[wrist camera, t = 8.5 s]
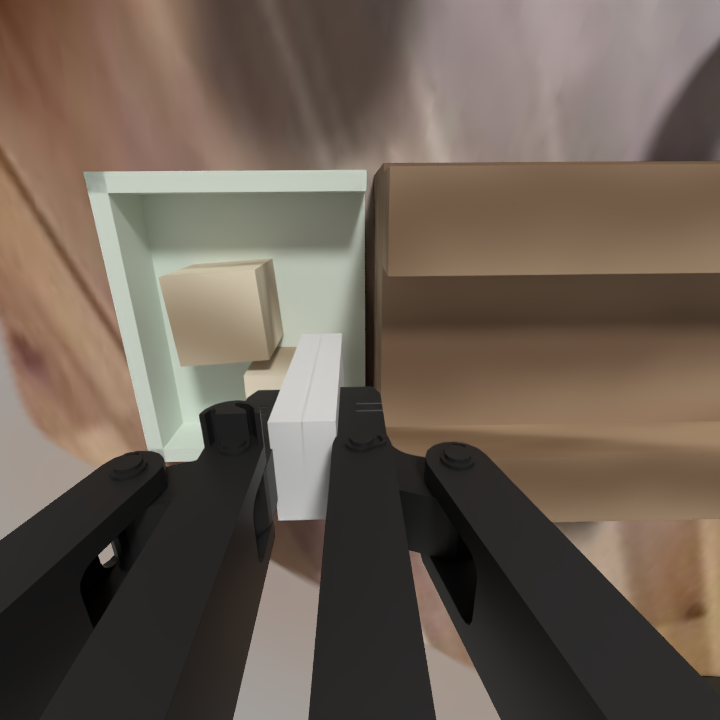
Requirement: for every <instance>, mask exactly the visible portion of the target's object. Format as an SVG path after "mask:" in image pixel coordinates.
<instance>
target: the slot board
mask: <svg viewBox="0 0 720 720" xmlns="http://www.w3.org/2000/svg"><path fill="white" fill-rule="evenodd" d="M373 387H374V388H375V389H376V390H377V391H378V392H379V393H380V394H381V400H382V407H383V413H384V420H385V427H386V433H387V436H388V437H389V439H390V441H391V444H392V446H393V447H395V448H396V449H398V450H400V451H402V452H404V453H407V454H411V455H415V456H421V457H425V456H426V453H427V450H428V449H430V448H431V447H432V446H433V445H436V444H439V443H442V442H462V443H466V444H469V445H471V446H474V447H476V448H478V449H480V450H481V451H482V452H484V453H485V454H486V455H487V456H488V457H489V458H490V459H491V460H492V461H493V462H494V463H495V464H496V465H497V466H498V467H499V468H500V469H501V470H502V471H503V472H504V473H505V474H506V475H507V477H508V478H509V479H510V480H511V481H512V482H513V483H514V484H515V485H516V486H517V487H518V488H519V489H520V490H521V491H522V492H523V493H524V494H525V495H526V496H527V497H528V498H529V499H530V500H531V501H532V502H533V503H534V504H535V505H536V506H537V507H538V508H539V510H540V511H541V512H542V513H543V514H544V515H545V516H546V517H547V518H548V519H549V520H550V521H551V522H593V521H640V520H688V519H720V161H639V162H493V163H383V165H382V166H381V167H380V169H379V170H378V171H377V173H376V174H375V175H374V378H373Z"/></svg>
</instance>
